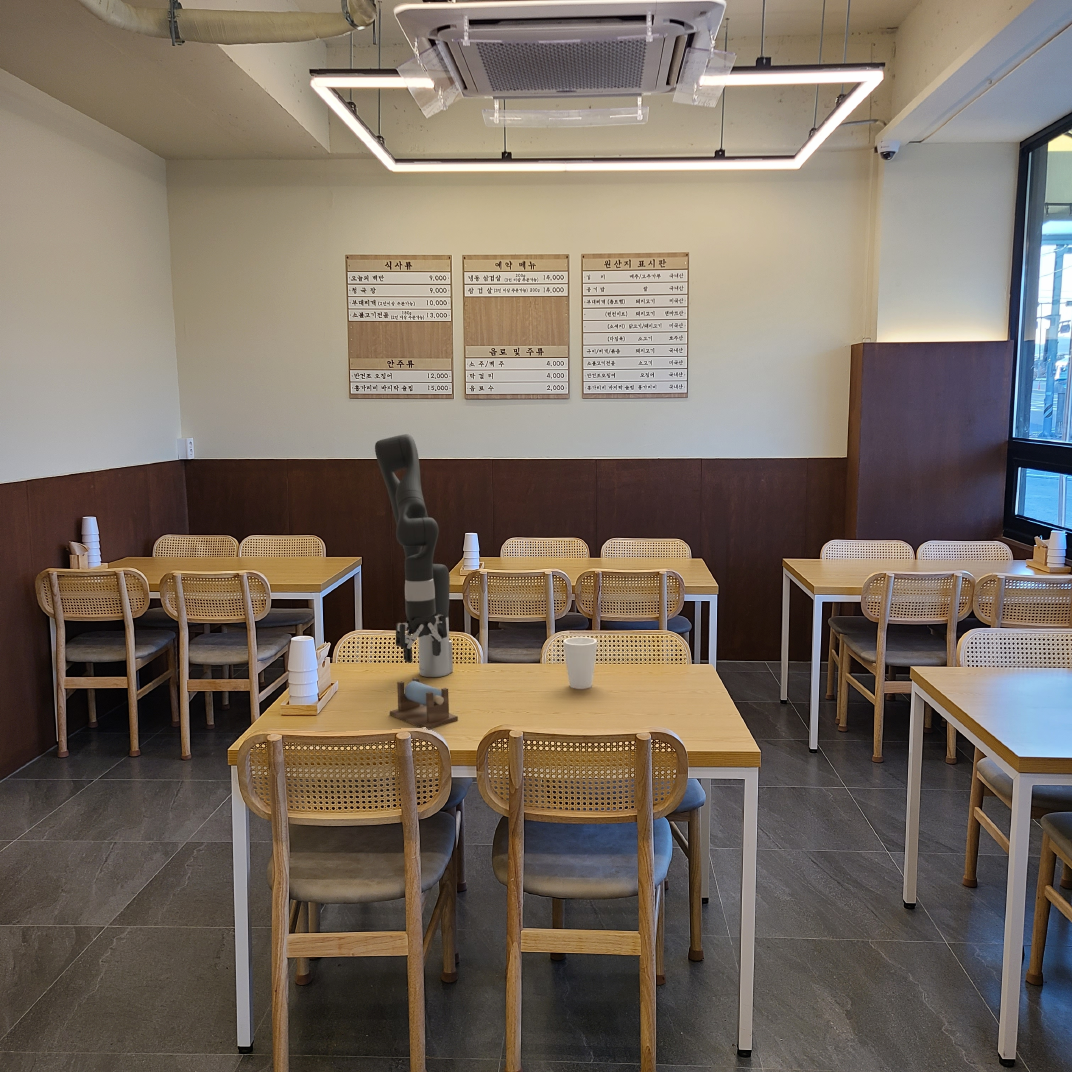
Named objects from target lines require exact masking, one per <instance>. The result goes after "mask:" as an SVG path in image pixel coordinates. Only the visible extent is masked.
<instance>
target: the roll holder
mask: <svg viewBox="0 0 1072 1072" xmlns="http://www.w3.org/2000/svg"><path fill="white" fill-rule="evenodd" d="M411 680H412V681H416V682H419V683H420V678H418V677H413V678H412V679H411ZM412 681H411V682H412ZM396 683H397V685H396V687H397V706H398V707H397V709H392V710H390V711H389V716H392V717H394V718H396V719H399V720H401V721H403V722H406V723H409V724H411V725H413V724H414V725H413V726H416V727H418V726H419V727H418V728H420V727H426V728H430V729H433V728H436V727H441V726H443V725H447V724H450V723H453V722H456V721H459V716H458V715H456V714H452V713H450V708H449V707H450V706H449V705H450V703H449V702H450V701H449V688H448V687H443V688H441V689H440V690H441V697H443V698H444V702H443V704H441V705H439V704H433V693H432V692H427V693H426V706H424V705H422V704H419V703H417V702H414V701H411V700H409V699H407V698H406V696H405V682H404V681H397V682H396Z"/></svg>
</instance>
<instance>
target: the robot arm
mask: <svg viewBox="0 0 1072 1072" xmlns="http://www.w3.org/2000/svg"><path fill="white" fill-rule="evenodd" d="M374 451H375V453H374V454H375V457H376V461H377V464H378V467H379V469H380V472H381V476H382V479H383V480H384V483H385V486H386V488H387V489H386V490H387V492H388V497H389V500H390V504H391V507H392V508H391V509H392V512H393V517H394V521H395V524H396V529H395V530H396V531H395V537H396V541H397V542H398V543H399V545H401V546H402V548H403V551H404V552H403V553H404V557H405V559H404V579H405V581H404V601H405V602H404V603H405V604H404V605H405V607H404V608H405V615H406V621H405V622H402V623H401V622H397V623H395V646H396V647H399V648H402V651H403V653H402V655H403V661H405V662H406V663H407V664H412V663H413V648H412V646H413V645H414V642H417V640H418V643H417V645H418V670H419V671H418V672H419V676H422V677H426V678H441V677H445V676H448V675H450V673H453V671H454V663H453V659H454V658H453V641H452V640H451V639H450V630H449V629H450V627H449V626H450V625H449V609H450V584H451V582H450V580H451V579H450V572H449V568H448V567H447V566H446V565H445V564H441V563H434V556H435V555H434V554H435V550H436V547H437V542H438V538H439V532H440V530H439V529H440V527H439V524H438V523H437V521H436V519H434V518H433V517H429V515H428V511H427V507H426V504H425V499H424V495H423V491H422V483H421V482H422V481H421V468H420V467H421V466H420V459H419V452H418V447H417V445H416V441H415V439H414V438H413V436H412V435H411V434H408V433H405V434H399V435H395V436H392V437H387V438H382V439H379V440H378V441H376V442H375V445H374ZM401 470H406V471H405V473H404V474H403V476H402V478H401V480H400V479H399V478H398V476H396V474H395V472H398V471H401Z"/></svg>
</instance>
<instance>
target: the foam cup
mask: <svg viewBox="0 0 1072 1072" xmlns="http://www.w3.org/2000/svg"><path fill="white" fill-rule="evenodd" d="M597 649H598V640H597V639H595V638H593V637H587V636H575V637H568V638H565V639H564V640H563V651H564V656H565V657H564V658H565V663H566V670H567V676H568V684H569V686H570V688H572V689H578V690H585V689H590V688H591V687H592V686H593V681H594V673H595V672H594V671H595V662H596V657H597V656H596V655H597Z"/></svg>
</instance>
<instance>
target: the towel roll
mask: <svg viewBox="0 0 1072 1072" xmlns="http://www.w3.org/2000/svg"><path fill="white" fill-rule="evenodd" d="M427 692H432V693H433V704H439V705H441V704H443V702H444V698H443V697H441V689H439V688H437V687H433V686H431V685H427V684H425V683H422V682H420V681H419V682H416V681H410V682H409V683H408V684H406V685H405V686H404V694H405V696H406V698H407V699H409V700H411V701H414V702H417V703H419V704H422V705H424V706H426V693H427Z"/></svg>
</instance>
